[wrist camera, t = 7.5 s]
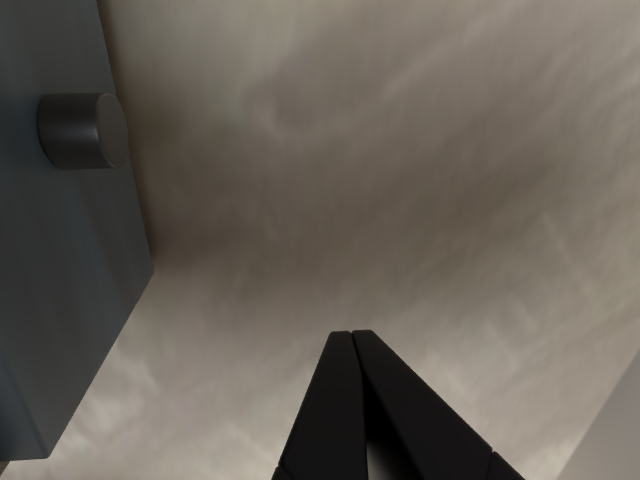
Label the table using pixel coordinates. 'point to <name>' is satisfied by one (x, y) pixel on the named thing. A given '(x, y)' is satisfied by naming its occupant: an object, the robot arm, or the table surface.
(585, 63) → the table surface
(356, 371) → the robot arm
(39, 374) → the drawer
